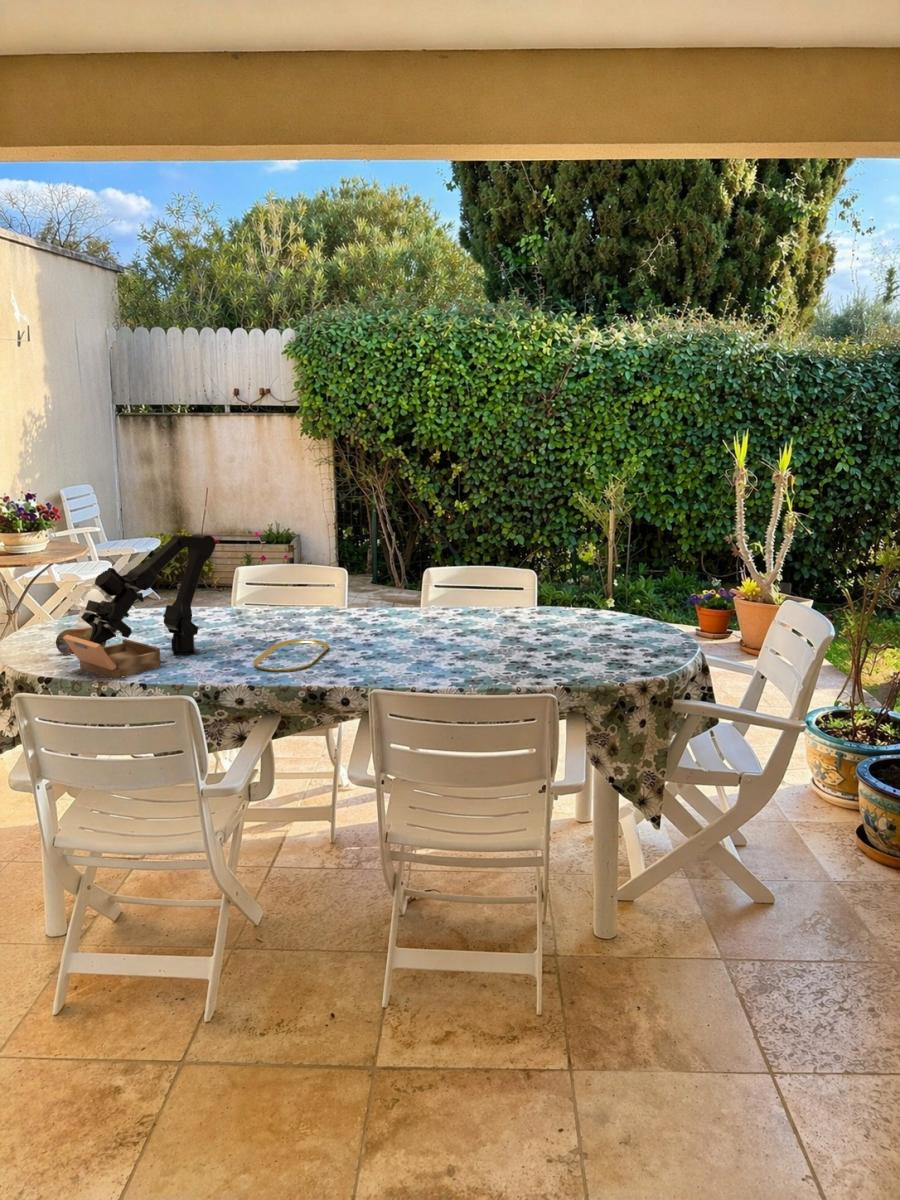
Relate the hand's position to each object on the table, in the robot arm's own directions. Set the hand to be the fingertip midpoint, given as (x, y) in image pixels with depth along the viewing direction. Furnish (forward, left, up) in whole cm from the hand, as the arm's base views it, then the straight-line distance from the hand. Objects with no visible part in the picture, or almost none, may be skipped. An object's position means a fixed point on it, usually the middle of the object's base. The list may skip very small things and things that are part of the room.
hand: (89, 648), depth 269 cm
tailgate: (-1, -1, -6) cm, 6 cm away
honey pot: (+6, -48, -9) cm, 49 cm away
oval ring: (-59, -9, -9) cm, 60 cm away
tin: (+7, -26, -9) cm, 28 cm away
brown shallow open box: (-7, -6, -8) cm, 13 cm away
